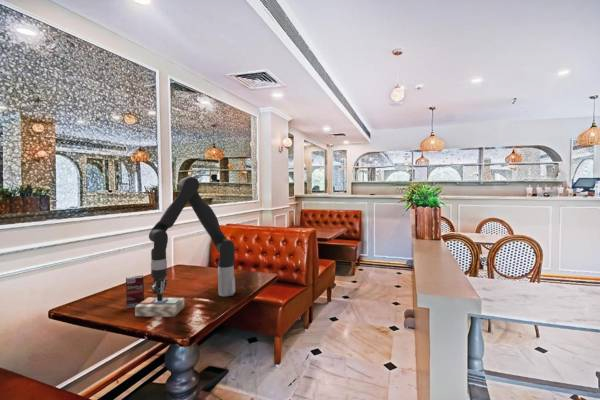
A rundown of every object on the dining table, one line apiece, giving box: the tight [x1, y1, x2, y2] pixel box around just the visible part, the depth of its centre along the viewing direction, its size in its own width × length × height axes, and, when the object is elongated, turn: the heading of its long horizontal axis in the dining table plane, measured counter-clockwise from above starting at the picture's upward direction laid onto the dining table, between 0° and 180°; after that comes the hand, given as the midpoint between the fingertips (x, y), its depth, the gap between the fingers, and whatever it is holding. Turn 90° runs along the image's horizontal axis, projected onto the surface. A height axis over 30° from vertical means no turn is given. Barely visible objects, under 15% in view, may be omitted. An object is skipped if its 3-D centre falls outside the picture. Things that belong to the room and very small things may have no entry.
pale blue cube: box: [153, 297, 168, 304], centre depth 157 cm, size 5×5×4 cm
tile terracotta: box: [141, 298, 156, 304], centre depth 157 cm, size 5×5×4 cm
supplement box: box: [125, 274, 145, 309], centre depth 164 cm, size 9×5×16 cm, turn 121°
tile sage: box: [165, 299, 179, 305], centre depth 156 cm, size 5×5×4 cm
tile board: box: [134, 297, 185, 318], centre depth 157 cm, size 20×12×5 cm, turn 87°
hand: (159, 300), depth 157 cm, fingers closed
